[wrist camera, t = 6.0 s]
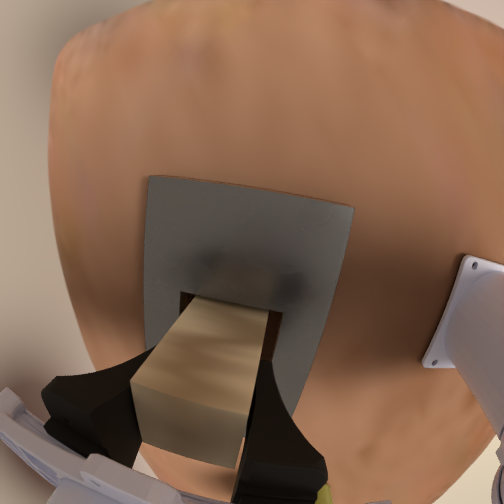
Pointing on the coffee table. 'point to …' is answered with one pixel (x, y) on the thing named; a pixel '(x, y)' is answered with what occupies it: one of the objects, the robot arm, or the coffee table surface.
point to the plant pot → (324, 495)
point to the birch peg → (201, 381)
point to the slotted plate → (245, 262)
